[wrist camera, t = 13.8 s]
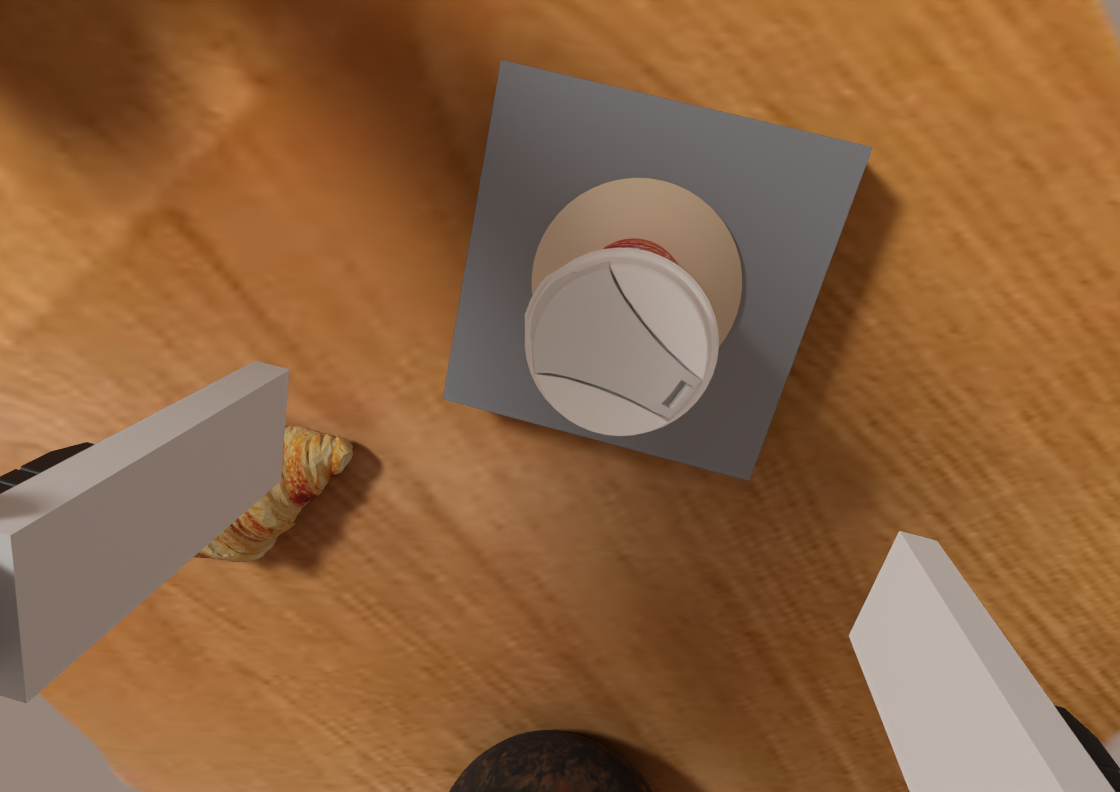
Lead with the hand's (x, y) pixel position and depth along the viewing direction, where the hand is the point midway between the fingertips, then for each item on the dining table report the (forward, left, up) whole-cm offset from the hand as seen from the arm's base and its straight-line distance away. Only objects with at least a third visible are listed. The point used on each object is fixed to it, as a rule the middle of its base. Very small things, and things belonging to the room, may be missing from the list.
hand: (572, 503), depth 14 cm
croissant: (-25, -23, -31) cm, 46 cm away
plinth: (0, 0, -30) cm, 30 cm away
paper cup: (0, 0, -26) cm, 26 cm away
